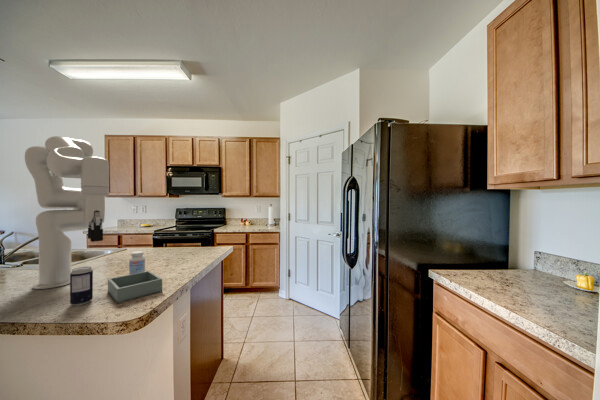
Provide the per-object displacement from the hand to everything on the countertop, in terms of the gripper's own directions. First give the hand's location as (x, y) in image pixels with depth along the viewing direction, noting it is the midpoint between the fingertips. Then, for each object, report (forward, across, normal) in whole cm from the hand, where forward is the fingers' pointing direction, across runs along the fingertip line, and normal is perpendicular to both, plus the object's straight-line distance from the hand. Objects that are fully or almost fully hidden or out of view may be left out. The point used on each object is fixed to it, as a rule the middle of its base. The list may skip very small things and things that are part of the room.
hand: (95, 239), depth 82 cm
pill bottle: (+22, -21, +17) cm, 35 cm away
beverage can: (+22, 0, -4) cm, 22 cm away
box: (+22, +1, +12) cm, 25 cm away
